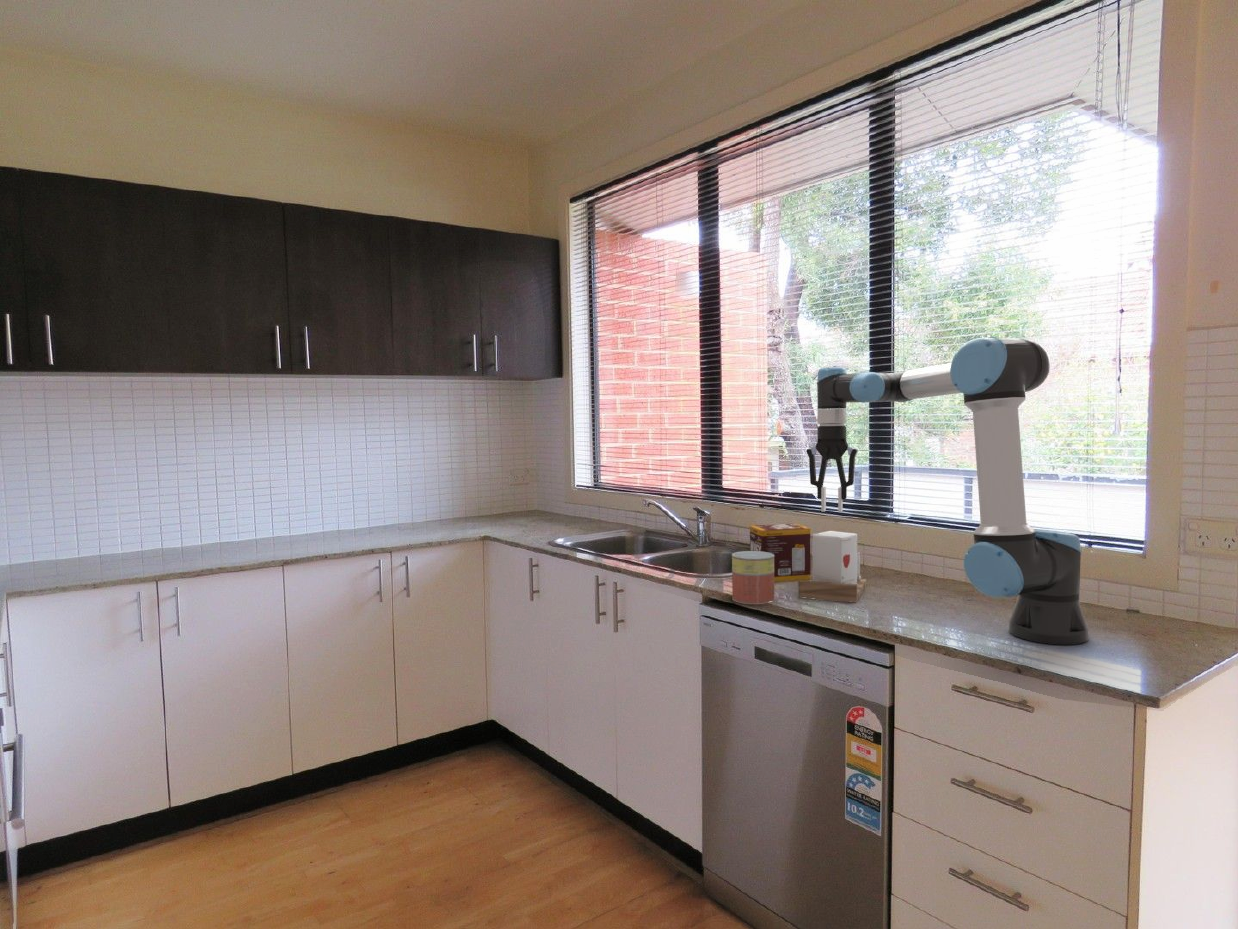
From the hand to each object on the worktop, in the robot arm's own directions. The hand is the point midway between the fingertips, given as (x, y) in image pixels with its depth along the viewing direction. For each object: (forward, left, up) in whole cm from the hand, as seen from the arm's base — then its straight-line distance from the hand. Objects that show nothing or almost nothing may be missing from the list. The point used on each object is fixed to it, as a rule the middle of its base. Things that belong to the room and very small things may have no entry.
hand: (831, 511), depth 206 cm
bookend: (+12, 0, -21) cm, 24 cm away
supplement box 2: (0, -1, -21) cm, 21 cm away
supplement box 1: (+14, +18, -23) cm, 32 cm away
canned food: (-14, +18, -23) cm, 32 cm away
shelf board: (+2, 0, -23) cm, 23 cm away
